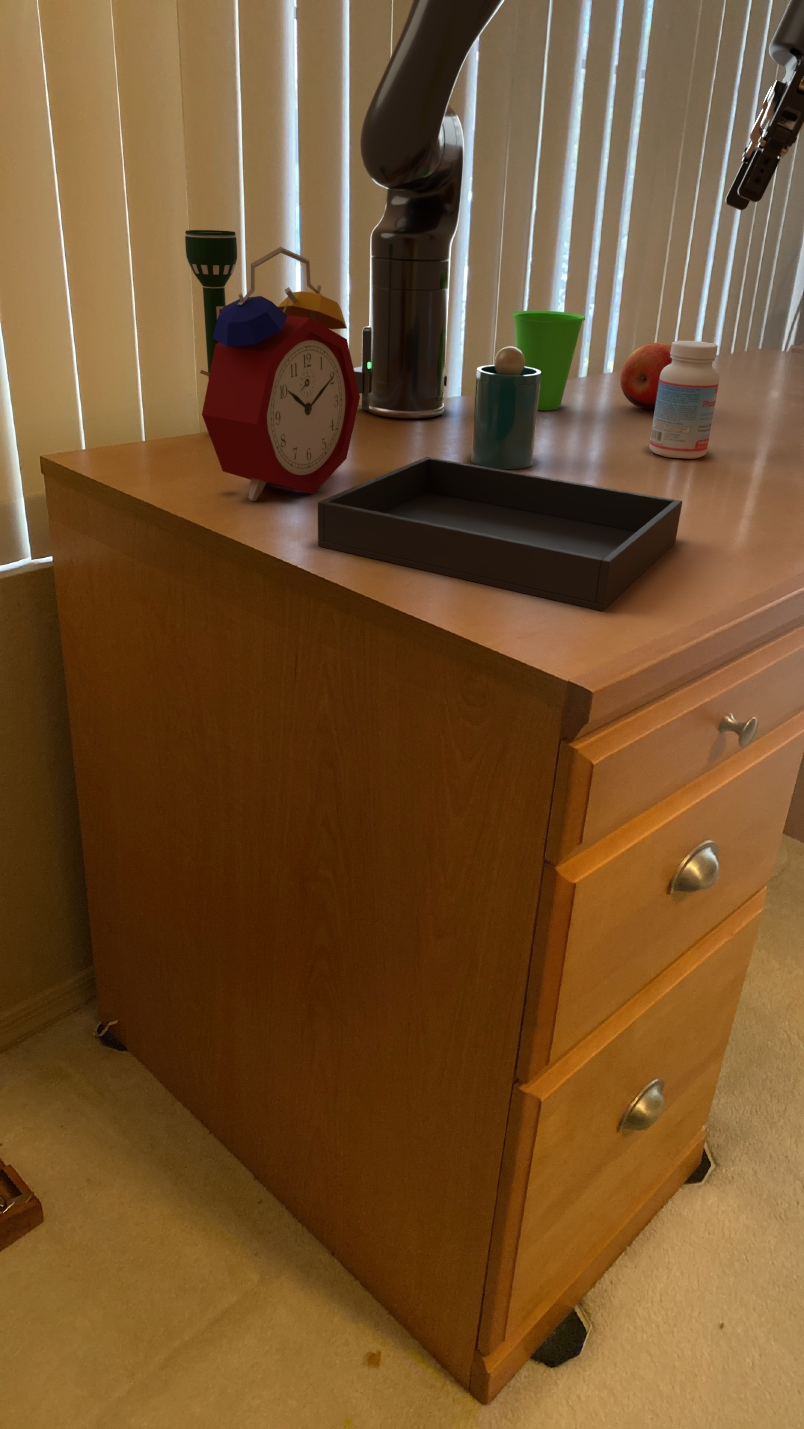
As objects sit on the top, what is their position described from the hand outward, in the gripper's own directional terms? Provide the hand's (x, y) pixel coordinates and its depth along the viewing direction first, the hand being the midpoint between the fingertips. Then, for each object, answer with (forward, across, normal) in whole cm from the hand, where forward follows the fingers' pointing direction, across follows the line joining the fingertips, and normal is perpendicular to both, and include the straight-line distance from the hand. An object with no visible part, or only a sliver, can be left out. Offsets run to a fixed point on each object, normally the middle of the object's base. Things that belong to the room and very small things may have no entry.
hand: (740, 203), depth 92 cm
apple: (+22, -29, +4) cm, 36 cm away
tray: (+32, +31, -8) cm, 45 cm away
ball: (+21, +5, -14) cm, 26 cm away
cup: (+26, -26, -10) cm, 38 cm away
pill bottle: (+23, -5, +6) cm, 25 cm away
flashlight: (+40, +2, -40) cm, 57 cm away
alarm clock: (+38, +20, -29) cm, 51 cm away
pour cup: (+30, +4, -11) cm, 32 cm away
